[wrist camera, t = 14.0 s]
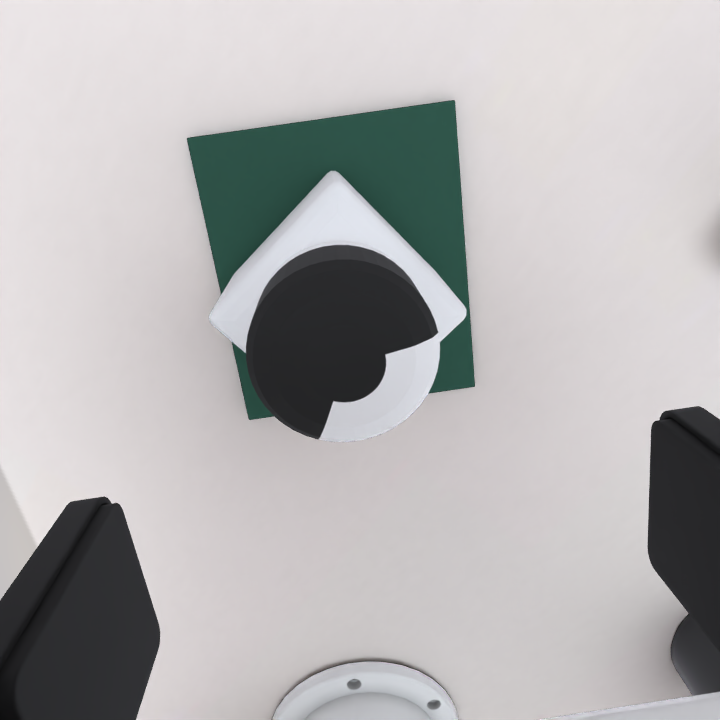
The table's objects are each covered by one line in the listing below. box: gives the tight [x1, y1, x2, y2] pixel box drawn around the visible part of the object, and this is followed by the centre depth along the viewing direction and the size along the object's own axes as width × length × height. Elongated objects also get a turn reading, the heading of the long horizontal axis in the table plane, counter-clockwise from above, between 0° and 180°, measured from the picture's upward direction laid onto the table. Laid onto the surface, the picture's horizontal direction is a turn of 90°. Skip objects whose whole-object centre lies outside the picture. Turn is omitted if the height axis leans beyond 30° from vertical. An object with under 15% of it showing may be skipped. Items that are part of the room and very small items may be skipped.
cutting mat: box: [187, 100, 475, 420], centre depth 30 cm, size 14×12×1 cm
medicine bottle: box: [209, 171, 467, 442], centre depth 24 cm, size 7×7×12 cm
